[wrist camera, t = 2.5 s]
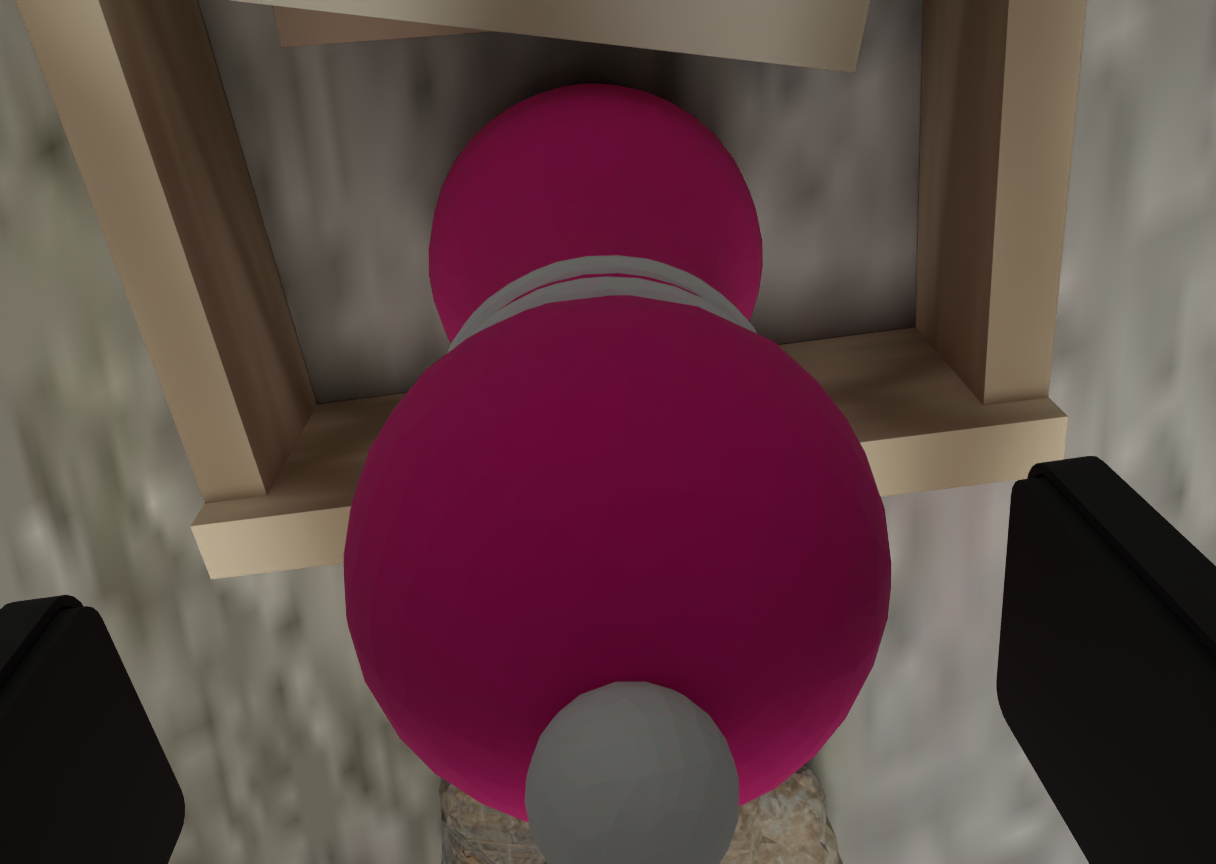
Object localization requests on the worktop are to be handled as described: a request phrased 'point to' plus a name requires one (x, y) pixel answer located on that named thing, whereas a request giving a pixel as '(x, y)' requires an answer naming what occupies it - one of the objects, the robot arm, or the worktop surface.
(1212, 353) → the worktop surface
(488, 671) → the pepper mill
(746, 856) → the clay tablet
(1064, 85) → the oak rack
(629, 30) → the birch offcut
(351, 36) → the walnut offcut
